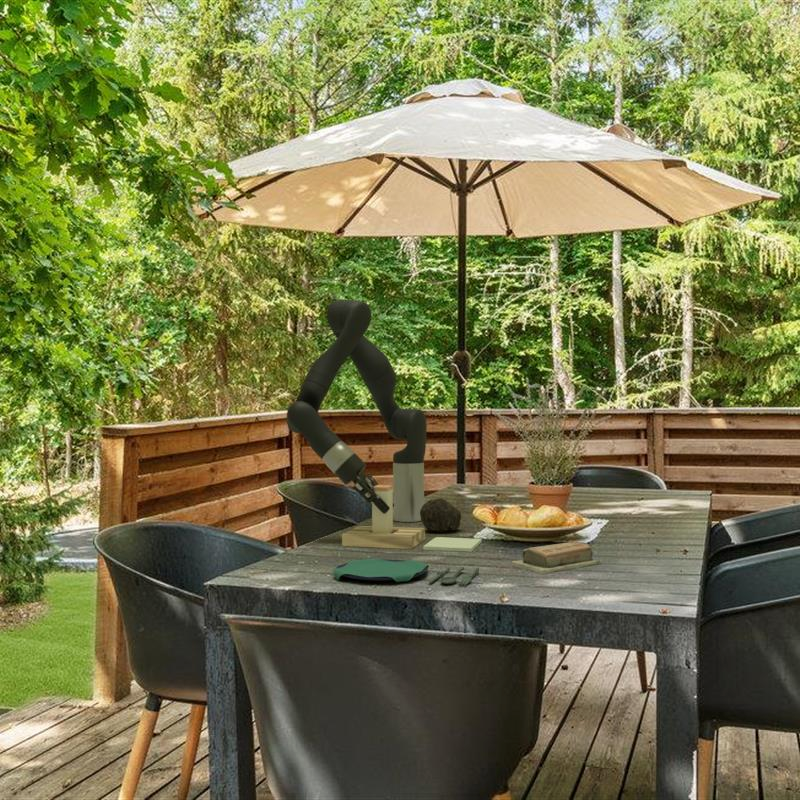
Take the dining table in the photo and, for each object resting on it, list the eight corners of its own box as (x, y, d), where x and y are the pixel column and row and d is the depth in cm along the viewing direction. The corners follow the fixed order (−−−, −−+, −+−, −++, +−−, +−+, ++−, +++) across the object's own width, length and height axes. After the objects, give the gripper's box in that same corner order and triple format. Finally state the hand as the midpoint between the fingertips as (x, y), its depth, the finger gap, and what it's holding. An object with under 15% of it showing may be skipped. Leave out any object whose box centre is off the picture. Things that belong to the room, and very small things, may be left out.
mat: (436, 540, 239) (436, 537, 239) (481, 542, 236) (481, 538, 236) (423, 549, 226) (423, 546, 226) (471, 551, 223) (471, 548, 223)
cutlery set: (354, 565, 208) (354, 555, 208) (484, 573, 199) (483, 562, 199) (320, 584, 190) (320, 572, 190) (461, 593, 180) (461, 581, 180)
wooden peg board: (359, 537, 245) (359, 525, 245) (424, 539, 240) (424, 528, 240) (342, 545, 231) (342, 534, 231) (411, 549, 227) (411, 536, 227)
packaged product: (567, 538, 215) (600, 544, 207) (567, 559, 215) (600, 565, 207) (511, 546, 204) (543, 553, 196) (511, 568, 204) (543, 576, 196)
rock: (467, 526, 257) (462, 491, 256) (452, 537, 247) (447, 501, 246) (434, 527, 261) (429, 493, 261) (418, 539, 251) (413, 503, 250)
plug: (378, 530, 239) (377, 484, 239) (392, 531, 238) (392, 485, 238) (372, 534, 234) (372, 487, 234) (387, 534, 233) (387, 487, 233)
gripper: (347, 454, 230) (394, 503, 228) (360, 450, 244) (404, 496, 242) (326, 475, 231) (373, 524, 229) (340, 469, 245) (385, 515, 243)
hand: (389, 509), depth 236 cm, fingers closed on plug, 5 cm apart
